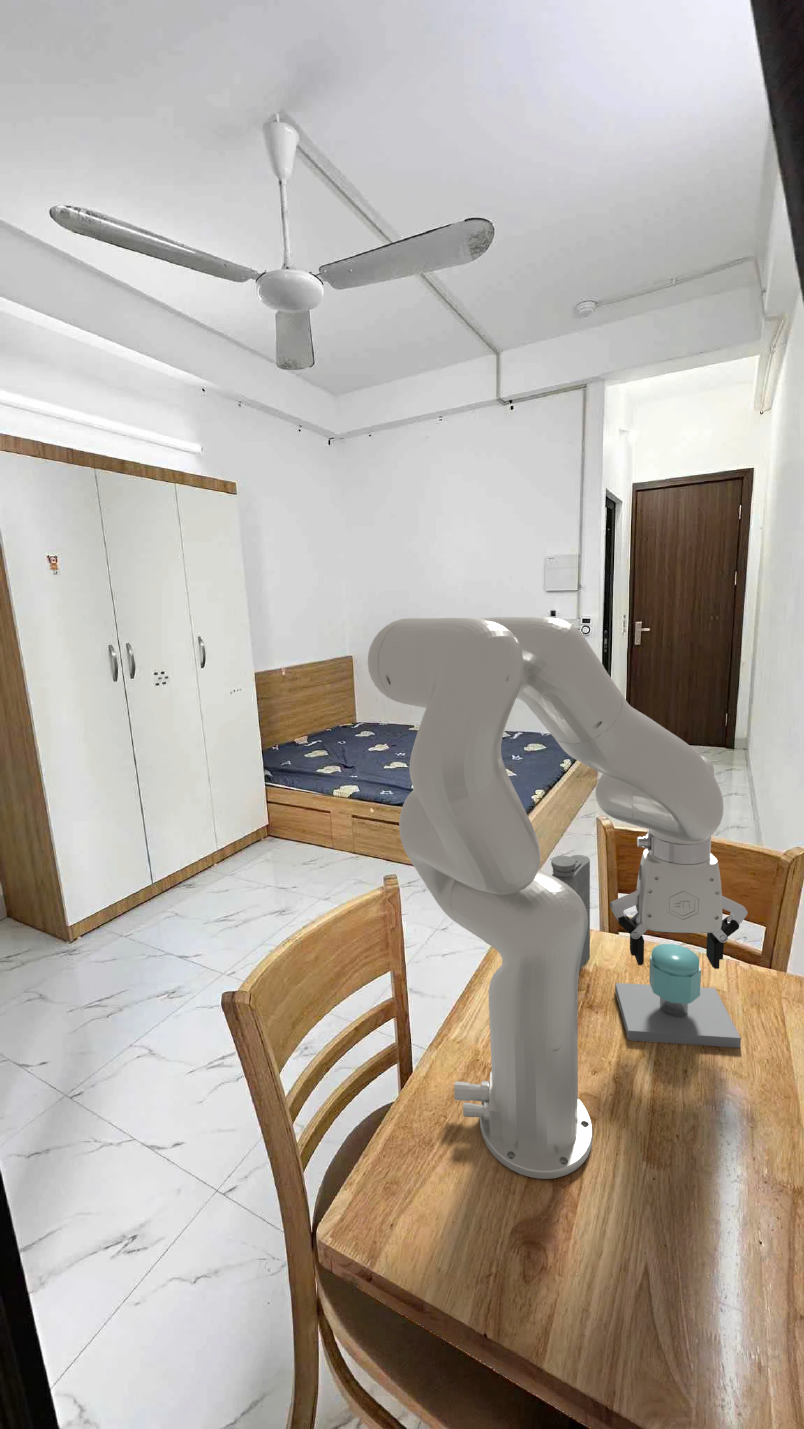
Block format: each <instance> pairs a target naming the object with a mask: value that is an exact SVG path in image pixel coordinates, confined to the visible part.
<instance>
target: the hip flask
mask: <svg viewBox="0 0 804 1429" xmlns="http://www.w3.org/2000/svg"><path fill="white" fill-rule="evenodd" d="M550 862H551V863H550V864H551V867H552V874H551V875H552V876H554V877H556V878H557V879H559V880H561V881H562V882H564V883H565V884H567V885H568V886H570V887H571V888H572V889H573V890H574V891H575V892H576V893H577V894H578V895H579V897H580V898H581V900H582V901H583V903H584V905H585V908H586V911H587V916H588V927H587V933H586V938H585V943H584V947H583V951H582V956H581V961H580V968H579V971H581V969H582V968H583V966H585V964H586V963H587V962H588V961H589V960H590V959H591V954H590V952H591V942H590V941H591V903H590V902H591V879H590V878H591V859H590V858H589V856H587V855H583V854H574V855H571V856H568V855H557V856H554V857H552V858H551V860H550Z"/></svg>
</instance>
